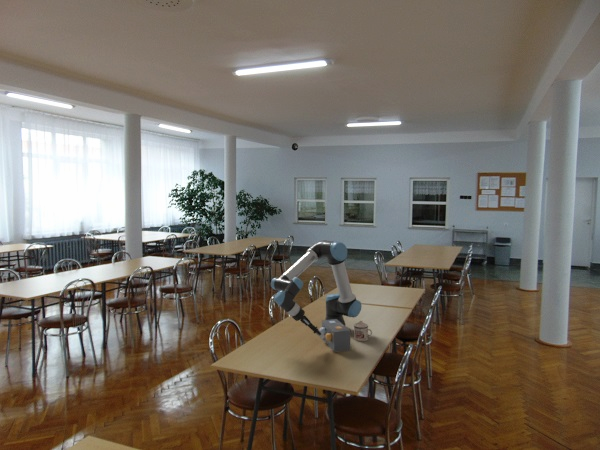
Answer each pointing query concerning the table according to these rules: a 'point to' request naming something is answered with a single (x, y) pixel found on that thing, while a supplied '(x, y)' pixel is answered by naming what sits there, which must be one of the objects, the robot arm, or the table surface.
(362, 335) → the teacup with lid
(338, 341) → the button console
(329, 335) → the orange button
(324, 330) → the pale blue button
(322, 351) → the table surface
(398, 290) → the table surface
